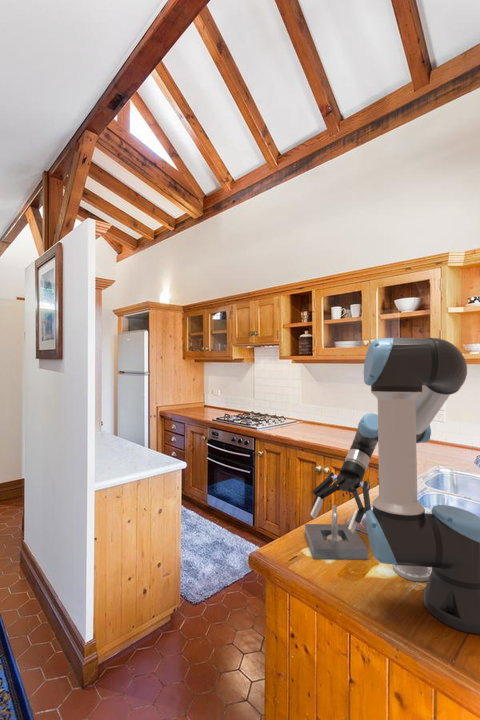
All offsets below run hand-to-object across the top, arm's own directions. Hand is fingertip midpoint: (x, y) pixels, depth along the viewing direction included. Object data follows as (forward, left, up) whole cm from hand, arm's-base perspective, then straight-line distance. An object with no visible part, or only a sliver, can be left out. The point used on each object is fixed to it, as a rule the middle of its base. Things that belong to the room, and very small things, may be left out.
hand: (330, 523), depth 115 cm
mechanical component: (-12, -20, -8) cm, 25 cm away
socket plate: (+1, -1, -7) cm, 8 cm away
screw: (+1, -1, -8) cm, 8 cm away
